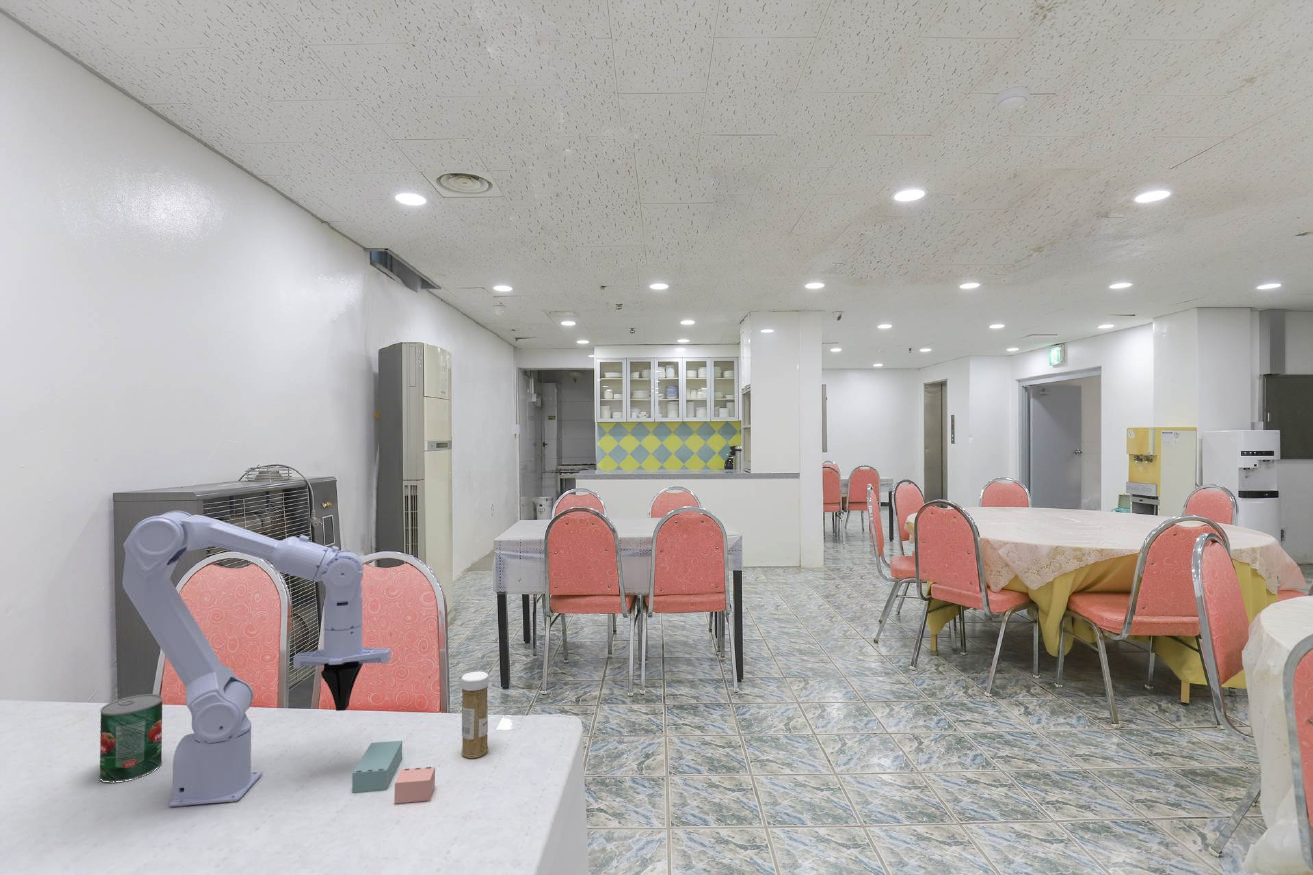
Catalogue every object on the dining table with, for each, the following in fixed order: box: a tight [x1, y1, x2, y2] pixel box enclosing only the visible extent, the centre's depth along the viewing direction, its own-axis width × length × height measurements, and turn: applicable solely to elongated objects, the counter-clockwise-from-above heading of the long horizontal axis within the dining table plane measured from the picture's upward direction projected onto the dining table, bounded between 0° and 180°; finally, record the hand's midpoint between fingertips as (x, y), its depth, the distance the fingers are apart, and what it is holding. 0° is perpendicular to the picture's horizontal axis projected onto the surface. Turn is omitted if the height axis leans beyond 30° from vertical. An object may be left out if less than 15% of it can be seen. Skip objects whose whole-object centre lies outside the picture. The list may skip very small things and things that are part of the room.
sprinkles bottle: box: [460, 671, 490, 759], centre depth 109 cm, size 5×5×14 cm
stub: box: [394, 766, 436, 804], centre depth 95 cm, size 5×4×3 cm
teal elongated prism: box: [351, 740, 403, 793], centre depth 101 cm, size 5×10×3 cm, turn 9°
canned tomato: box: [99, 693, 164, 782], centre depth 103 cm, size 8×8×11 cm
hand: (342, 708), depth 103 cm, fingers closed
